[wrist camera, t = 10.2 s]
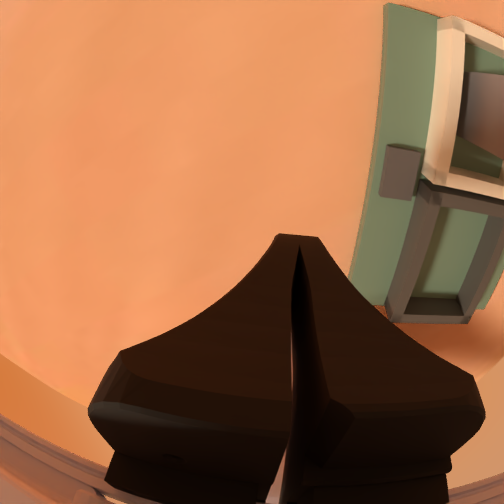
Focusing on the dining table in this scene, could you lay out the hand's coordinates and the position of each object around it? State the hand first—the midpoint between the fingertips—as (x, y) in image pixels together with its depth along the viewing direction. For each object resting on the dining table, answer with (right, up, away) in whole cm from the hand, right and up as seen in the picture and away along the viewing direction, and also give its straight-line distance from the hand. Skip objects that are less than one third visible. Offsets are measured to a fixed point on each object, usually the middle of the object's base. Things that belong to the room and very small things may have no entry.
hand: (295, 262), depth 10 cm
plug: (+12, +9, +3) cm, 15 cm away
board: (+12, +5, +7) cm, 15 cm away
